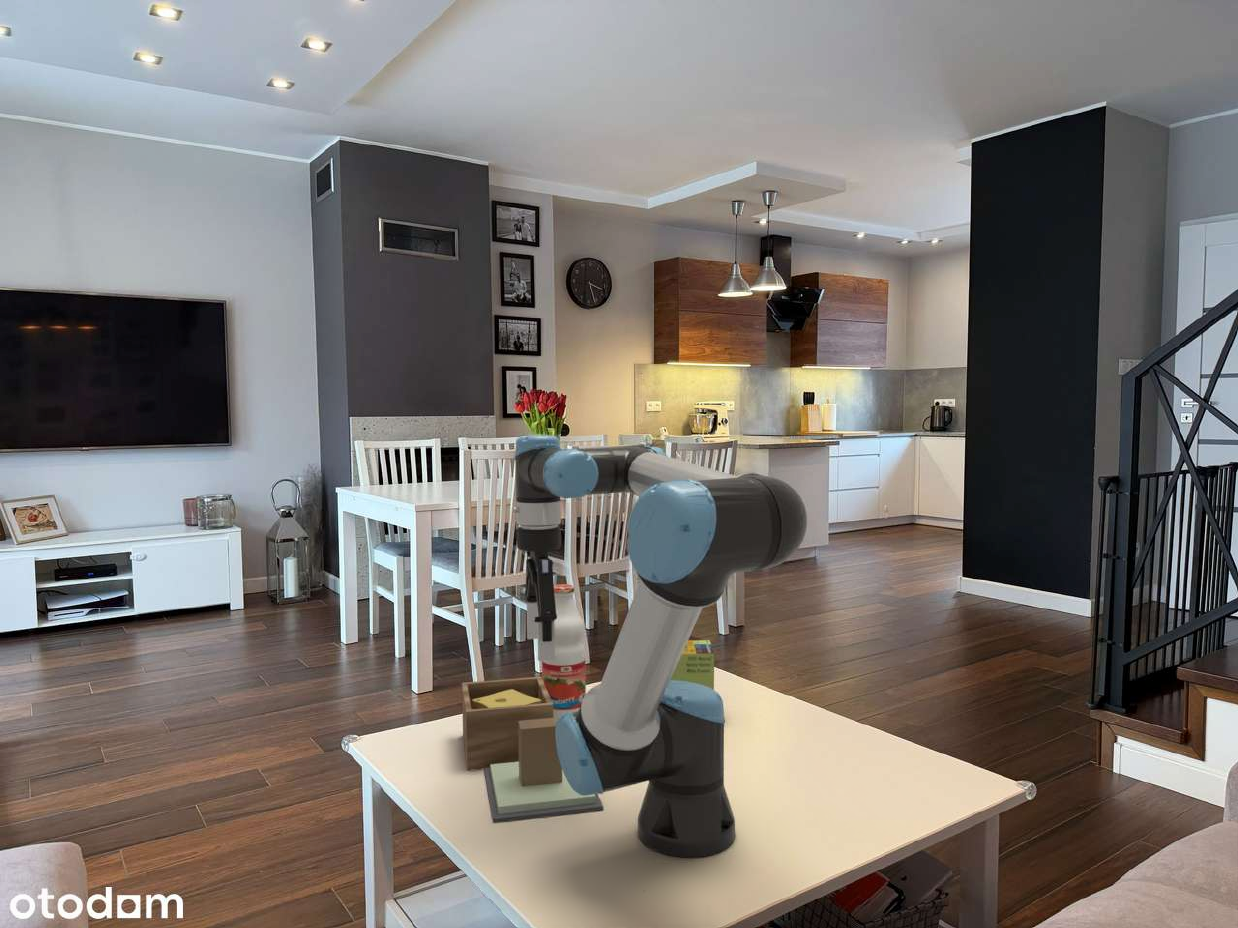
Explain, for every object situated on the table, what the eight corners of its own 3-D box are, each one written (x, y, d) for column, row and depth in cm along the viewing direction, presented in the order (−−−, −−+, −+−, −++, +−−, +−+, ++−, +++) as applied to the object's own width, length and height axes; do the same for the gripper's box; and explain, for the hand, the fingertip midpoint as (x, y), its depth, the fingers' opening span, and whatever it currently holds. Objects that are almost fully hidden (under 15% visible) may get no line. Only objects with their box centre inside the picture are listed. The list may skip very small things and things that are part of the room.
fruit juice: (585, 705, 190) (583, 581, 188) (586, 720, 180) (585, 590, 179) (542, 706, 189) (541, 582, 187) (542, 722, 180) (540, 591, 178)
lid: (595, 803, 141) (594, 737, 141) (498, 813, 138) (497, 746, 137) (577, 761, 158) (576, 702, 157) (490, 770, 154) (489, 710, 154)
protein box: (715, 726, 177) (715, 653, 176) (640, 726, 177) (640, 653, 176) (710, 708, 187) (710, 639, 186) (640, 709, 187) (639, 639, 186)
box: (553, 761, 160) (553, 704, 159) (467, 770, 156) (466, 711, 155) (541, 728, 176) (540, 676, 175) (463, 735, 173) (462, 682, 172)
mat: (603, 809, 140) (603, 806, 140) (493, 822, 136) (493, 818, 136) (581, 761, 160) (581, 758, 160) (484, 770, 156) (484, 767, 156)
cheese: (499, 764, 159) (498, 712, 158) (469, 747, 167) (468, 697, 166) (544, 749, 165) (544, 699, 165) (513, 734, 174) (512, 686, 173)
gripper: (508, 518, 156) (510, 631, 158) (526, 537, 132) (528, 671, 133) (549, 516, 158) (550, 629, 159) (573, 535, 134) (575, 667, 135)
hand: (540, 648), depth 146 cm, fingers open, 13 cm apart
